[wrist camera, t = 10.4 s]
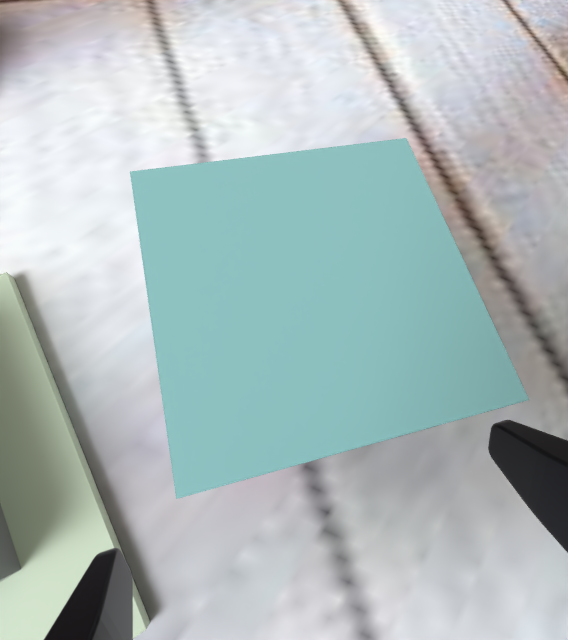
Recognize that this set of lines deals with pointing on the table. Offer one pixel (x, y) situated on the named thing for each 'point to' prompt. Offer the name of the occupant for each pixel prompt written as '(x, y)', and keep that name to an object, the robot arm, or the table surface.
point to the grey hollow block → (7, 551)
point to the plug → (308, 310)
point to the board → (43, 486)
